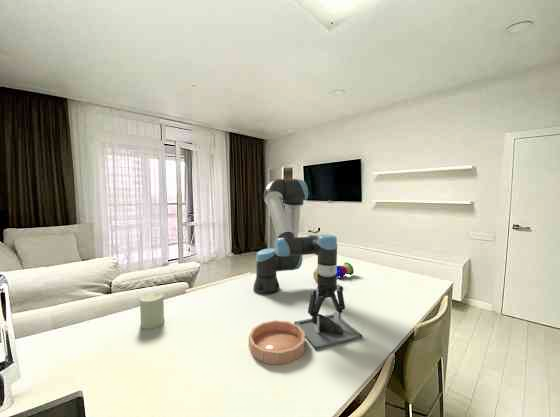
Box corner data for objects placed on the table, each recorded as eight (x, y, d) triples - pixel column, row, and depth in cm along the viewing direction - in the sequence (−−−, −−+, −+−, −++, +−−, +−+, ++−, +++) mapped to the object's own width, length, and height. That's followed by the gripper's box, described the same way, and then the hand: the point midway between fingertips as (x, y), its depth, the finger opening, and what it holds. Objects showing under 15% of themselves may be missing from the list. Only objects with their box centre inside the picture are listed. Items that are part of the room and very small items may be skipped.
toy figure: (340, 283, 157) (356, 276, 165) (339, 270, 155) (356, 263, 162) (331, 278, 165) (347, 271, 172) (330, 265, 163) (346, 258, 170)
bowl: (244, 336, 95) (244, 326, 94) (291, 326, 102) (291, 317, 101) (257, 371, 76) (257, 358, 76) (314, 356, 83) (314, 344, 83)
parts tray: (294, 324, 103) (294, 321, 103) (335, 316, 110) (335, 313, 110) (315, 350, 86) (315, 346, 86) (362, 338, 93) (362, 335, 93)
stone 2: (339, 339, 92) (340, 326, 91) (308, 328, 99) (308, 315, 99) (346, 331, 97) (346, 318, 97) (315, 321, 105) (316, 309, 104)
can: (169, 319, 108) (168, 293, 107) (152, 330, 99) (151, 301, 98) (153, 316, 111) (152, 290, 110) (135, 326, 102) (134, 298, 101)
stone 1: (336, 284, 149) (336, 268, 149) (324, 288, 143) (325, 271, 143) (321, 279, 159) (321, 264, 159) (310, 282, 153) (310, 266, 153)
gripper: (307, 280, 90) (307, 339, 91) (355, 273, 97) (354, 328, 98) (298, 274, 97) (298, 329, 98) (344, 268, 104) (343, 319, 105)
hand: (326, 328), depth 98 cm, fingers closed on stone 2, 8 cm apart
